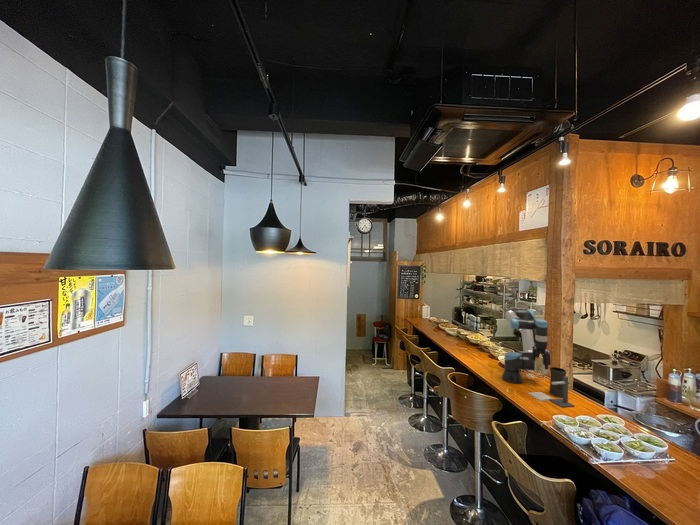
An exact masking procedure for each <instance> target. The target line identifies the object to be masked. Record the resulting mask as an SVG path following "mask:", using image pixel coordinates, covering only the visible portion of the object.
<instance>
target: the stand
mask: <svg viewBox="0 0 700 525" xmlns="http://www.w3.org/2000/svg"><path fill="white" fill-rule="evenodd" d="M551 383H552V385H557V384H563V398H553V399H550V401H549V402H551V403H552V404H554V405H557V406H558V407H560V408H562V409H563V408H574V407H575V404H573V403H571V402H569V377H568V376H567V375H566V376H563V381H560V382H551Z"/></svg>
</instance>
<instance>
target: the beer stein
mask: <svg viewBox="0 0 700 525" xmlns="http://www.w3.org/2000/svg"><path fill="white" fill-rule="evenodd" d="M549 371H550V382H549V384H550V385H549V391H548V393H549V394H550V395H551V396H552V397H553V396H554V397H557V398H559V399H563V384H557V385H552V383H551V382H560V381H563V376H566V377H567V371H566V369H564V368H560V367H556V366H553V367H550V368H549Z"/></svg>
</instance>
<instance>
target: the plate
mask: <svg viewBox="0 0 700 525" xmlns="http://www.w3.org/2000/svg"><path fill="white" fill-rule="evenodd" d="M528 394H529V395H528ZM527 395H528V396H530V395H531V397H532V398H534V399H535V398H536V400H537V399H538V400H537V401H538V402H546V401H547V402H551V401H550V399H554V398H553V397H551V396H549V395H547V394H546V393H543V392H542V391H535V392H528V393H527Z"/></svg>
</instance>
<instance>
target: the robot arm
mask: <svg viewBox="0 0 700 525" xmlns="http://www.w3.org/2000/svg"><path fill="white" fill-rule="evenodd" d="M503 317H504V318H505V320H506V321H508V322H509V325H510V328H512V329H515V330H517V329H519V330H520V332H521V333H520V334H521V340H522V341H521V342H522V350H523V351H522V353H520V352H517V351H516V352H515V351H509V352H505V354H504V368H503V369H504V370H503V372H502V376H501V379H502V380H503V381H504V382H507V383H510V384H515V385H516V384H519V385H520V384H522V383H523V377H522V374H521V370H525V371H532V372H533V371H535V357H540V355H541V356H542V357H541V358H543V360H544V365H543V373H544V374H547V375H548V370H549V366H551V365H552V362H551V351H550V350H548V349H547V347H548V329H549V328H548V326H549V325H548V321H547V320H545V319H536V315H535V312H534V311H533V309H530V308H517V307H512V308H508V309H506V310H505V311H504V313H503ZM533 331H535V332H534V333H535V337H534V333H533ZM534 339H535V340H534ZM534 341H535V342H534ZM540 369H541V364H540ZM535 372H536V371H535Z"/></svg>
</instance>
